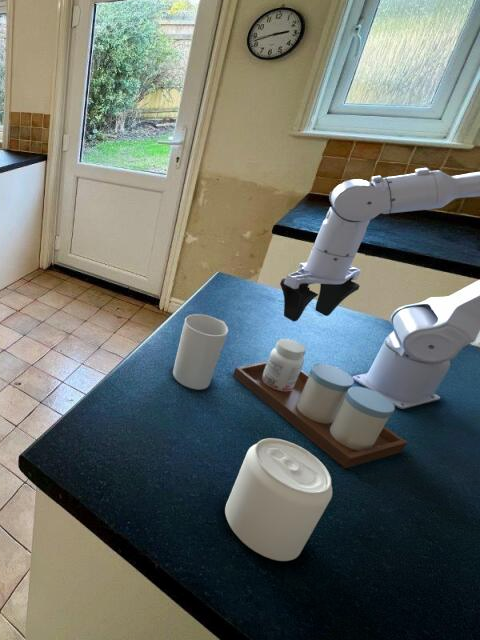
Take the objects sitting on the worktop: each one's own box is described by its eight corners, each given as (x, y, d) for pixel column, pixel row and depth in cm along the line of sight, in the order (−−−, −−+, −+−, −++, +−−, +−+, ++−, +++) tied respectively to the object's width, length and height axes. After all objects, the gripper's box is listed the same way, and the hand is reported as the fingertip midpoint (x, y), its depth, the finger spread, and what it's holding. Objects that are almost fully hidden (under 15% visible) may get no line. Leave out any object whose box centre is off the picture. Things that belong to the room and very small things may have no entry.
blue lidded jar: (345, 421, 67) (365, 383, 64) (381, 448, 62) (404, 408, 59) (320, 428, 66) (339, 389, 62) (355, 455, 61) (377, 415, 58)
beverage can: (271, 576, 47) (308, 509, 42) (209, 513, 54) (234, 448, 49) (315, 546, 50) (353, 480, 45) (250, 489, 57) (278, 426, 52)
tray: (280, 366, 80) (283, 357, 79) (401, 452, 62) (408, 442, 62) (232, 376, 78) (235, 367, 77) (345, 468, 60) (350, 458, 59)
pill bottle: (289, 378, 76) (305, 341, 73) (295, 395, 72) (312, 357, 69) (259, 371, 78) (273, 334, 74) (263, 387, 74) (278, 349, 71)
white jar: (311, 397, 72) (328, 361, 68) (343, 420, 67) (362, 382, 64) (288, 403, 71) (304, 366, 67) (318, 426, 66) (337, 388, 63)
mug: (195, 395, 73) (212, 340, 68) (163, 373, 79) (176, 320, 73) (230, 377, 77) (248, 324, 72) (197, 357, 83) (212, 306, 78)
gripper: (342, 237, 77) (315, 299, 83) (279, 244, 74) (256, 309, 79) (384, 252, 71) (352, 319, 76) (319, 261, 67) (290, 330, 73)
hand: (306, 315), depth 77 cm, fingers open, 7 cm apart
